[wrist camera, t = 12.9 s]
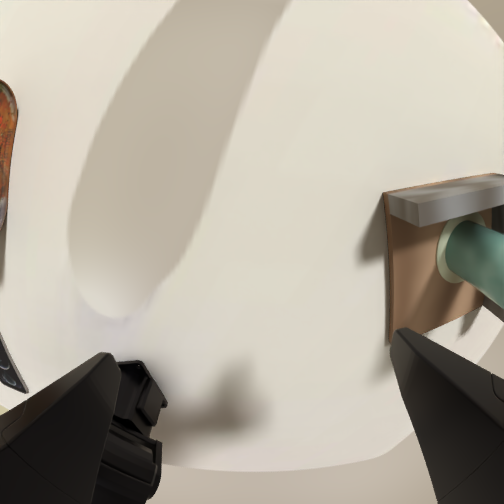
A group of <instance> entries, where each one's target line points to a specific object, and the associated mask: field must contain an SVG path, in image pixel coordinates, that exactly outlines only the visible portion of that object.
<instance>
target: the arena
mask: <svg viewBox="0 0 504 504" xmlns="http://www.w3.org/2000/svg"><path fill="white" fill-rule="evenodd" d="M383 197H384V206H385V215H386V225H387V236H388V251H389V272H390V326H389V342H390V343H391V342H392V336H393V332H394V331H395V330H396V329H399V328H404V327H407V328H409V329H411V330H413V331H415V332H417V333H419V334H423V333H426V332H428V331H430V330H433V329H435V328H437V327H439V326H442V325H444V324H446V323H448V322H450V321H453V320H455V319H457V318H459V317H461V316H463V315H465V314H467V313H469V312H471V311H473V310H475V309H477V308H479V307H480V306H482V305H483V306H484V307H486V308H487V309H488V310H489V311H491V312H492V313H493V314H494V315H495V316H497V317H498V318H499V319H500V320H502V321H503V322H504V309H503V308H501V307H500V306H499V305H498V304H496V303H495V302H494V301H492V300H491V299H490V298H488V297H487V296H486V295H484V294H483V293H481V292H480V291H479V290H477V289H476V288H474V287H473V286H472V285H470V284H469V283H467V282H466V281H465V280H463V279H462V278H460V277H459V276H457V275H456V274H454V273H453V272H451V271H450V270H449V268H448V266H447V264H446V259H445V251H446V245H447V242H448V239H449V236H450V234H451V233H452V231H453V229H454V228H455V227H456V226H457V225H458V224H459V223H461V222H462V221H465V220H470V221H473V222H475V223H478V224H480V225H483V226H485V227H488V228H490V229H492V230H495V231H497V232H499V233H502V234H504V175H501V174H496V173H489V174H483V175H477V176H471V177H465V178H459V179H453V180H447V181H442V182H436V183H431V184H425V185H420V186H414V187H409V188H404V189H399V190H394V191H388V192H383Z"/></svg>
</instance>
